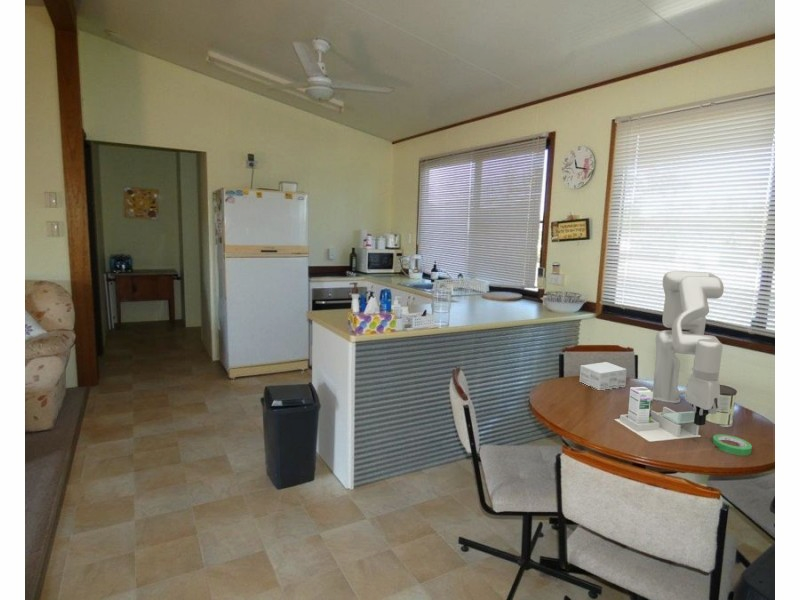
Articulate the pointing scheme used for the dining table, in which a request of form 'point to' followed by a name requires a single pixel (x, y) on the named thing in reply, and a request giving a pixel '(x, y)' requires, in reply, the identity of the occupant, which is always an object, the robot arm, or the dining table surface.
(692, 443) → the dining table surface
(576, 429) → the dining table surface
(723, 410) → the coffee can
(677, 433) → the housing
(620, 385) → the supplement box
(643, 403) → the syrup box
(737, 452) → the tape roll
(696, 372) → the robot arm
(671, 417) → the lid
